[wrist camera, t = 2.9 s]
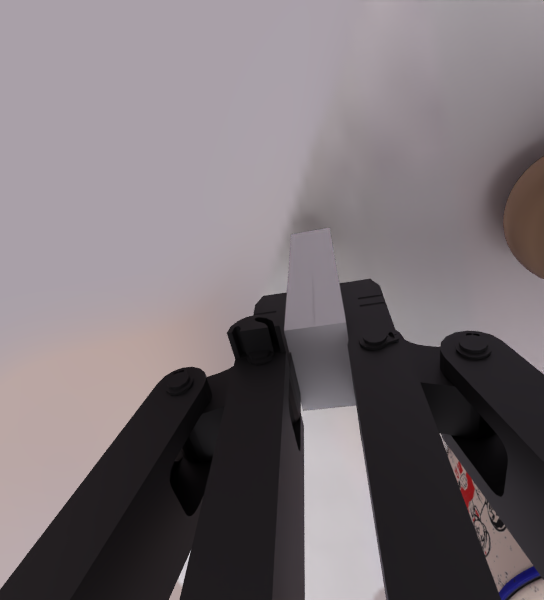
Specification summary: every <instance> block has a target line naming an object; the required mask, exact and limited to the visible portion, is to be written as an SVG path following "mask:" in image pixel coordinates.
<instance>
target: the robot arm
mask: <svg viewBox="0 0 544 600" xmlns="http://www.w3.org/2000/svg"><path fill="white" fill-rule="evenodd" d="M227 334H228V338H229V341H230V344H231V347H232V350H233V353H234V356H235V363H234V366H233V367H231V368H230V369H228V370H225V371H223V372H221V373H218V374H215V375H212V376H209V377H206V374H205V372H204V371H202V370H201V369H199V368H195V367H186V368H181V369H178V370H176V371H173V372H171V373H170V374H168V375H166V376H165V377H164V378H163V379H162V380H161V381H160V382H159V383H158V384H157V385H156V386H155V388H154V389H153V390H152V392H151V393H150V394H149V396H148V397H147V398H146V399H145V401H144V402H143V403H142V405H141V406H140V407H139V409H138V410H137V411H136V413H135V414H134V415H133V417H132V418H131V419H130V421H129V422H128V423H127V424H126V426H125V427H124V428H123V430H122V431H121V432H120V433H119V435H118V436H117V437H116V439H115V440H114V441H113V443H112V444H111V445H110V447H109V448H108V449H107V450H106V452H105V453H104V455H103V456H102V457H101V458H100V460H99V461H98V462H97V464H96V465H95V466H94V467H93V469H92V470H91V471H90V473H89V474H88V475H87V477H86V478H85V479H84V481H83V482H82V483H81V484H80V486H79V487H78V488H77V490H76V491H75V492H74V494H73V495H72V496H71V498H70V499H69V500H68V502H67V503H66V504H65V505H64V507H63V508H62V510H61V511H60V512H59V513H58V515H57V516H56V517H55V519H54V520H53V521H52V523H51V524H50V525H49V526H48V528H47V529H46V530H45V532H44V533H43V534H42V536H41V537H40V538H39V540H38V541H37V542H36V543H35V545H34V546H33V547H32V549H31V550H30V551H29V553H28V554H27V555H26V557H25V558H24V559H23V560H22V562H21V563H20V564H19V566H18V567H17V568H16V570H15V571H14V572H13V573H12V575H11V576H10V577H9V579H8V580H7V581H6V583H5V584H4V585H3V587H2V588H1V589H0V600H169V598H170V595H171V593H172V591H173V589H174V586H175V584H176V582H177V580H178V578H179V575H180V573H181V571H182V569H183V566H184V564H185V562H186V560H187V557H188V555H189V553H190V551H191V553H190V557H189V561H188V566H187V570H186V574H185V579H184V583H183V587H182V592H181V596H180V600H305V570H304V425H303V421H302V417H301V413H300V412H301V404H302V408H303V411H305V410H315V409H325V408H335V407H345V406H355V405H356V406H357V413H358V420H359V427H360V434H361V441H362V446H363V452H364V459H365V465H366V472H367V478H368V485H369V491H370V497H371V504H372V510H373V517H374V523H375V530H376V536H377V542H378V549H379V555H380V562H381V568H382V574H383V581H384V587H385V594H386V600H501V597H500V595H499V592H498V589H497V587H496V584H495V581H494V579H493V576H492V573H491V571H490V568H489V565H488V563H487V560H486V557H485V555H484V552H483V549H482V547H481V544H480V541H479V538H478V536H477V533H476V530H475V528H474V525H473V522H472V520H471V517H470V514H469V512H468V509H467V506H466V504H465V501H464V498H463V496H462V493H461V490H460V488H459V485H458V482H457V480H456V477H455V474H454V472H453V469H452V466H451V464H450V461H449V458H448V456H447V453H446V450H445V448H444V445H443V442H442V439H441V437H440V434H439V433H441V435H442V437H443V439H444V441H445V442H446V444H447V445H448V446H449V448H450V449H451V451H452V452H453V453H454V455H455V456H456V458H457V459H458V460H459V462H460V463H461V465H462V466H463V468H464V469H465V470H466V472H467V473H468V475H469V476H470V477H471V479H472V480H473V482H474V483H475V484H476V486H477V487H478V489H479V490H480V491H481V493H482V494H483V496H484V497H485V498H486V500H487V501H488V503H489V504H490V505H491V507H492V508H493V510H494V511H495V512H496V514H497V515H498V517H499V518H500V519H501V521H502V522H503V524H504V525H505V526H506V528H507V529H508V531H509V532H510V533H511V535H512V536H513V538H514V539H515V540H516V542H517V543H518V545H519V546H520V547H521V549H522V550H523V552H524V553H525V554H526V556H527V557H528V559H529V560H530V561H531V563H532V564H533V566H534V567H535V568H536V570H537V571H538V573H539V574H540V575H541V577H542V578H543V580H544V374H542V373H541V372H540V371H539V370H537V369H536V368H535V367H534V366H532V365H531V364H530V363H529V362H528V361H526V360H525V359H524V358H523V357H521V356H520V355H519V354H518V353H516V352H515V351H514V350H513V349H511V348H510V347H509V346H508V345H506V344H505V343H504V342H503V341H501V340H500V339H498V338H496V337H494V336H493V335H490V334H486V333H483V332H477V331H463V332H456V333H453V334H451V335H449V336H447V337H446V338H445V339H444V340H443V341H442V342H441V346H440V347H432V346H423V345H417V344H414V343H410V342H408V341H406V340H404V338H403V336H402V335H401V334H400V332H398V331H396V330H395V328H394V325H393V322H392V319H391V316H390V314H389V311H388V308H387V305H386V303H385V300H384V297H383V294H382V291H381V288H380V286H379V285H378V284H377V283H375V282H374V281H372V280H371V279H365V280H359V281H352V282H346V283H339V279H338V273H337V267H336V261H335V255H334V249H333V244H332V238H331V232H330V227H329V228H324V229H318V230H312V231H307V232H301V233H295V234H291V244H290V258H289V271H288V285H287V293H281V294H274V295H267V296H263V297H262V298H261V299H260V300H259V301H258V303H257V304H256V305H255V310H254V315H253V316H249V317H246V318H244V319H242V320H240V321H237V323H235V324H234V325H232V326H231V327H230V329H229V331H228V332H227Z"/></svg>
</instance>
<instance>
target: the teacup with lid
mask: <svg viewBox="0 0 544 600" xmlns="http://www.w3.org/2000/svg"><path fill="white" fill-rule="evenodd" d="M448 458H449V461H450V464H451V466H452V469H453V472H454V474H455V477H456V480H457V482H458V485H459V488H460V490H461V493H462V496H463V498H464V501H465V504H466V506H467V509H468V512H469V514H470V517H471V520H472V522H473V525H474V528H475V530H476V533H477V536H478V538H479V541H480V544H481V547H482V549H483V552H484V555H485V557H486V560H487V563H488V565H489V568H490V571H491V573H492V576H493V579H494V581H495V584H496V587H497V589H498V592H499V595H500V597H501V600H544V580H543V578H542V577H541V575H540V574H539V573H538V571H537V570H536V568H535V567H534V566H533V564H532V563H531V561H530V560H529V559H528V557H527V556H526V554H525V553H524V552H523V550H522V549H521V547H520V546H519V545H518V543H517V542H516V540H515V539H514V538H513V536H512V535H511V533H510V532H509V531H508V529H507V528H506V526H505V525H504V524H503V522H502V521H501V519H500V518H499V517H498V515H497V514H496V512H495V511H494V510H493V508H492V507H491V505H490V504H489V503H488V501H487V500H486V498H485V497H484V496H483V494H482V493H481V491H480V490H479V489H478V487H477V486H476V484H475V483H474V482H473V480H472V479H471V477H470V476H469V475H468V473H467V472H466V470H465V469H464V468H463V466H462V465H461V463H460V462H459V460H458V459H457V458H456V456H455V455H454V453H453V452H452V451H451V449H449V453H448Z"/></svg>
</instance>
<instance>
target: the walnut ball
mask: <svg viewBox="0 0 544 600" xmlns="http://www.w3.org/2000/svg"><path fill="white" fill-rule="evenodd" d="M503 226H504V233H505V238H506V241H507V244H508V246H509V248H510V250H511V251H512V253H513V255H514V256H515V257H516V259H517V260H518V261H519V262H520V263H521V264H522V265H523V266H524V267H525V268H526V269H527V270H529V271H530V272H532V273H533V274H535V275H536V276H538V277H540V278H542V279H544V156H543V157H541V158H540V159H539V160H537V161H536V162H535V163H534V164H532V165H531V166H530V167H529V168H528V169H527V170H526V171H525V172H524V173H523V175H522V176H521V177H520V178H519V180H518V181H517V182H516V184H515V185H514V187H513V189H512V190H511V192H510V195H509V197H508V199H507V203H506V206H505V210H504V217H503Z"/></svg>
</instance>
